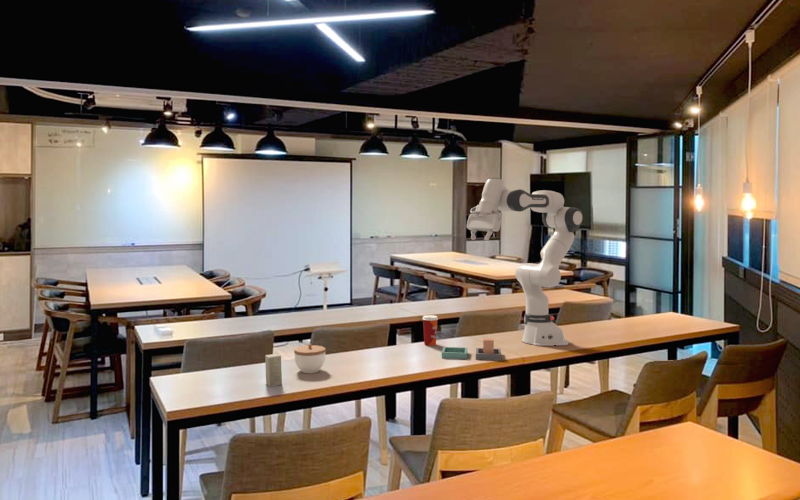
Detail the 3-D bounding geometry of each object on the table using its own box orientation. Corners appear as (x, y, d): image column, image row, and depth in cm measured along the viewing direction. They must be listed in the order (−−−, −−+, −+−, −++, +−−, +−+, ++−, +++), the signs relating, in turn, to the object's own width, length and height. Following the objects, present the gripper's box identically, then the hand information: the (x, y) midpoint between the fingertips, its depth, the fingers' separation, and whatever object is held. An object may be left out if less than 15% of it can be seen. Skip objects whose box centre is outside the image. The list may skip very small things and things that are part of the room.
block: (493, 355, 261) (493, 338, 260) (493, 358, 256) (493, 340, 255) (483, 355, 261) (483, 337, 261) (483, 358, 256) (483, 340, 256)
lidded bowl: (288, 371, 235) (287, 344, 234) (312, 365, 244) (312, 339, 244) (307, 377, 226) (307, 349, 226) (332, 370, 236) (332, 343, 235)
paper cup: (436, 346, 278) (437, 318, 277) (421, 346, 279) (421, 317, 278) (439, 343, 285) (439, 315, 284) (423, 342, 287) (423, 314, 286)
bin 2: (500, 354, 263) (500, 348, 263) (501, 360, 252) (501, 354, 252) (476, 353, 265) (476, 347, 265) (475, 359, 254) (475, 353, 254)
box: (278, 381, 220) (278, 353, 219) (282, 384, 216) (281, 355, 215) (265, 383, 217) (264, 354, 217) (268, 386, 214) (267, 357, 213)
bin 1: (467, 353, 265) (467, 347, 265) (466, 358, 254) (466, 353, 254) (443, 352, 267) (443, 346, 267) (441, 358, 256) (441, 352, 256)
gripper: (507, 213, 260) (499, 242, 259) (478, 213, 277) (470, 240, 276) (497, 208, 257) (489, 238, 255) (468, 209, 274) (460, 236, 273)
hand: (479, 239), depth 266 cm, fingers open, 8 cm apart
